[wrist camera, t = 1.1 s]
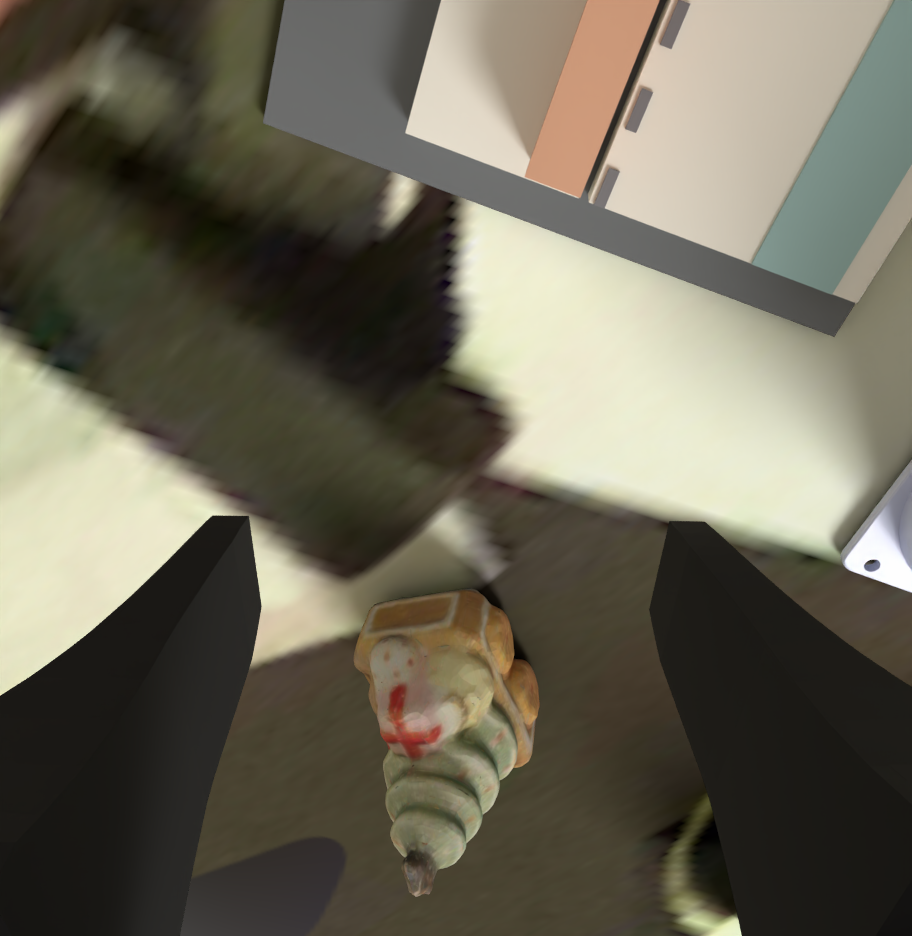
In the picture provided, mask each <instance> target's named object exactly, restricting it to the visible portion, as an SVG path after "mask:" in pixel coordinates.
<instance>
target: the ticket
mask: <svg viewBox="0 0 912 936" xmlns="http://www.w3.org/2000/svg"><path fill="white" fill-rule="evenodd" d="M588 200H589V203H592V204H594V205H595V206H598V207H601V208H603V209H604V208H605V209H608V210H610V211H613V212H616V213H618V214H621V215H624V216H626V217H629V218H632V219H634V220H637V221H639V222H642V223H645V224H647V225H650V226H653V227H655V228H658V229H661V230H663V231H666V232H669V233H671V234H674V235H677V236H679V237H682V238H685V239H687V240H690V241H693V242H695V243H698V244H700V245H703V246H706V247H708V248H711V249H714V250H716V251H719V252H722V253H724V254H727V255H730V256H732V257H735V258H738V259H740V260H743V261H746V262H748V263H751V264H752V265H754V266H757V267H760V268H762V269H765V270H768V271H770V272H773V273H776V274H778V275H781V276H784V277H786V278H789V279H792V280H794V281H797V282H799V283H802V284H805V285H807V286H810V287H813V288H815V289H818V290H821V291H823V292H826V293H829V294H831V295H832V294H833V295H836V296H838V297H841V298H844V299H846V300H849V301H852V302H854V303H858V302H859V300H860V299H861V297H862V295H863V294H864V292H865V291H866V289H867V287H868V286H869V284H870V283H871V281H872V280H873V278H874V276H875V275H876V273H877V272H878V270H879V269H880V267H881V265H882V264H883V262H884V261H885V259H886V258H887V256H888V254H889V253H890V251H891V250H892V248H893V247H894V245H895V243H896V242H897V240H898V239H899V237H900V236H901V234H902V232H903V231H904V229H905V228H906V226H907V224H908V223H909V221H910V220H911V218H912V0H667V1H666V3H665V5H664V8H663V10H662V13H661V15H660V18H659V20H658V23H657V25H656V28H655V30H654V33H653V35H652V38H651V40H650V42H649V45H648V47H647V50H646V52H645V55H644V57H643V60H642V62H641V65H640V67H639V70H638V72H637V74H636V77H635V79H634V82H633V84H632V87H631V89H630V92H629V94H628V97H627V99H626V102H625V104H624V107H623V109H622V111H621V114H620V116H619V119H618V121H617V124H616V126H615V129H614V131H613V134H612V136H611V139H610V141H609V144H608V146H607V148H606V151H605V153H604V156H603V158H602V161H601V163H600V166H599V168H598V171H597V173H596V176H595V178H594V181H593V183H592V185H591V188H590V190H589V193H588Z"/></svg>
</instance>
